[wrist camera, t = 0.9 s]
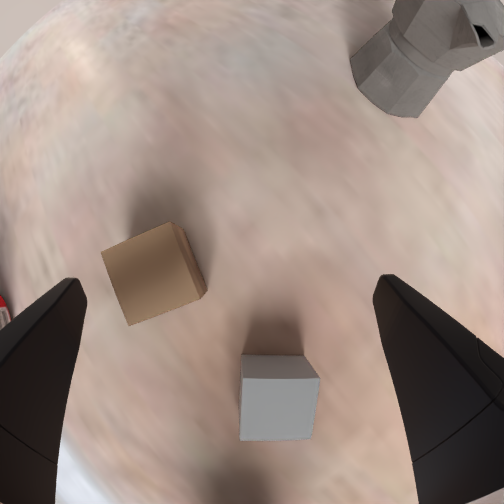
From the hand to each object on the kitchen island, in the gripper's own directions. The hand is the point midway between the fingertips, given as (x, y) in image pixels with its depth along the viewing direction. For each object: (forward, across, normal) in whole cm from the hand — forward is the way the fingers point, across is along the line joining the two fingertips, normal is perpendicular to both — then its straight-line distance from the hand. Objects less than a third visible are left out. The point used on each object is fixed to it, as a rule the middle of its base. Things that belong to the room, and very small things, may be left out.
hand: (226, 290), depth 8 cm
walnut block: (+12, +5, +9) cm, 15 cm away
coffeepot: (+23, -16, -7) cm, 29 cm away
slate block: (+6, -3, +16) cm, 17 cm away
